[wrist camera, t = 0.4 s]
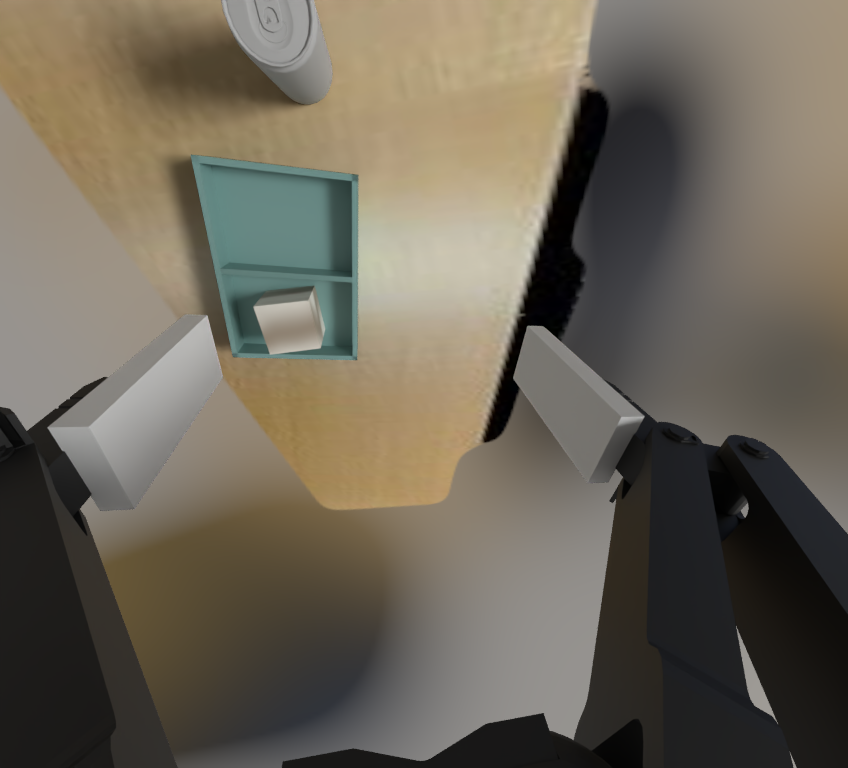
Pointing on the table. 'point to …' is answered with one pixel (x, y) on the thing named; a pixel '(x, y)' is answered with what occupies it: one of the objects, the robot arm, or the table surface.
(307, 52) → the beverage can
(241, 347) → the box
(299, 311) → the cream block
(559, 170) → the table surface
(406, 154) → the table surface
